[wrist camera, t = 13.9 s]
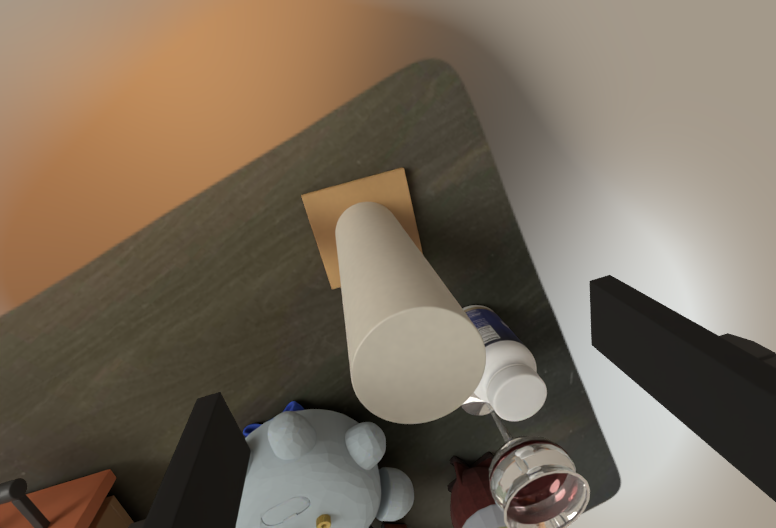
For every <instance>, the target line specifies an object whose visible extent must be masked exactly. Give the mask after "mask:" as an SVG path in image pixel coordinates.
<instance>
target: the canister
mask: <svg viewBox="0 0 776 528" xmlns="http://www.w3.org/2000/svg"><path fill="white" fill-rule="evenodd" d="M335 235H336V245H337V254H338V263H339V272H340V281H341V290H342V300H343V309H344V318H345V327H346V336H347V345H348V354H349V363H350V372H351V381H352V385H353V389H354V391H355V393H356V396H357V397H358V399H359V400H360V402H361V403H362V404H363V405H364V406H365V407H366V408H367V409H368V410H369V411H370V412H371V413H373V414H375V415H376V416H378V417H380V418H382V419H384V420H387V421H391V422H395V423H400V424H418V423H425V422H429V421H433V420H436V419H438V418H441V417H443V416H445V415H447V414H449V413H451V412H452V411H454V410H456V409H457V408H458V407H460V406H461V405H462V404H463V403H464V402H465V401H466V400H468V399H469V397H470V396H471V395H472V394H473V393H474V391H475V390H476V388H477V387H478V385H479V383H480V381H481V379H482V376H483V373H484V369H485V365H486V350H485V345H484V341H483V339H482V336H481V334H480V333H479V331H478V330H477V328H476V327H475V325H474V324H473V322H472V321H471V320H470V318H469V317H468V316H467V314H466V313H465V312H464V310H463V309H462V308H461V306H460V305H459V303H458V302H457V301H456V299H455V298H454V297H453V295H452V294H451V293H450V291H449V290H448V288H447V287H446V286H445V284H444V283H443V282H442V280H441V279H440V278H439V276H438V275H437V273H436V272H435V271H434V269H433V268H432V267H431V265H430V264H429V263H428V261H427V260H426V259H425V257H424V256H423V254H422V253H421V252H420V250H419V249H418V248H417V246H416V245H415V244H414V242H413V241H412V239H411V238H410V237H409V235H408V234H407V233H406V231H405V230H404V229H403V227H402V226H401V224H400V223H399V222H398V220H397V219H396V218H395V216H394V215H393V214H392V212H391V211H390V210H389V209H387V208H386V207H385V206H383V205H381V204H378V203H375V202H361V203H357V204H355V205H353V206H351V207H349V208H348V209H347V210H345V211H344V212H343V214H342V215H341V216H340V218H339V220H338V222H337V225H336V230H335Z"/></svg>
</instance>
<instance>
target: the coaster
mask: <svg viewBox="0 0 776 528" xmlns="http://www.w3.org/2000/svg"><path fill="white" fill-rule="evenodd" d="M301 197H302V200H303V203H304V206H305V209H306V212H307V215H308V218H309V221H310V224H311V227H312V230H313V233H314V236H315V239H316V242H317V245H318V248H319V251H320V254H321V257H322V260H323V264H324V267H325V270H326V273H327V276H328V279H329V282H330V285H331V288H332V289H335V288H339V287H341V281H340V272H339V263H338V254H337V245H336V235H335V230H336V225H337V222H338V220H339V218H340V216H341V215H342V214H343V212H344V211H345V210H347V209H348V208H349V207H351V206H353V205H355V204H357V203H361V202H375V203H378V204H381V205H383V206H385V207H386V208H387V209H389V210H390V211H391V212H392V214H393V215H394V216H395V218H396V219H397V220H398V222H399V223H400V224H401V226H402V227H403V229H404V230H405V231H406V233H407V234H408V235H409V237H410V238H411V239H412V241H413V242H414V244H415V245H416V246H417V248H418V249H419V250H420V252H421V253H422V254H423V252H422V247H421V243H420V238H419V234H418V229H417V225H416V220H415V215H414V211H413V206H412V202H411V197H410V193H409V188H408V184H407V179H406V175H405V170H404V168H403V167H401V168H398V169H394V170H390V171H386V172H383V173H379V174H375V175H372V176H368V177H364V178H361V179H357V180H353V181H350V182H346V183H342V184H339V185H335V186H331V187H328V188H324V189H320V190H317V191H313V192H309V193H305V194H302V196H301Z"/></svg>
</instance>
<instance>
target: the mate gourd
mask: <svg viewBox="0 0 776 528" xmlns="http://www.w3.org/2000/svg"><path fill="white" fill-rule="evenodd" d="M493 458H494V456H493V455H492V454H491V453H490V452H487V453H486V454H484V455H483V456H482V457H481V458H480V459H478V460H477V461H476V462H475V463H474V464H472V465H471V466H469V465H467V464H466V463H464V462H463V461H462V460H460V459H459V458H457V457H456V456H453V457H452V458H451V459H450V463H451V464H452V465H453V466H454V467H455V472H456V477H457V478H456V479H455V480H454V481H452V482H451V483H450V484H449V485H448V491H449V492H451V505H450V511H451V519H452V524H453V526H454V528H507V526H506V524H505V522H504V513H503V512H502V511H501V510H500V509H499V508H498V506H497V505H496V503H495V501H494V499H493V497H492V495H491V491H490V487H489V467H490V465H491V462H492V459H493Z"/></svg>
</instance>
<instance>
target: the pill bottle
mask: <svg viewBox="0 0 776 528" xmlns="http://www.w3.org/2000/svg"><path fill="white" fill-rule="evenodd" d="M462 309H463V310H464V312H465V313H466V314H467V316H468V317H469V318H470V320H471V321H472V322H473V324H474V325H475V327H476V328H477V330H478V331H479V333H480V334H481V336H482V339H483V341H484V345H485V350H486V365H485V369H484V373H483V376H482V379H481V381H480V383H479V385H478V387H477V388H476V390H475V391H474V394H475V395H476V396H477V397H479V398H480V399H481V400H483V401H485V402H487V403H490V405H491V406H492V407H493V409H494V410H495V412H496V413H497V415H498V416H500V417H501V418H502V419H505V420H508V421H520V420H524V419H527V418H529V417H531V416H532V415H534V414H535V413H536V412H537V411H538V410H539V409H540V408H541V407H542V406H543V404H544V402H545V399H546V396H547V389H546V385H545V383H544V382H543V380H542V379H541V378H540V377H539V375H538V374H537V373H536V372H537V367H536V362H535V359H534V357H533V355H532V354H531V352H530V351H529V350H528V349H527V347H526V346H525V345H524V344H523V343H522V342H521V341H520V340H519V338H518V337H517V336H516V335H515V334H514V333H513V332H512V331H511V330H510V328H509V327H508V326H507V325H506V324H505V323H504V322H503V321H502V320H501V318H500V317H499V316H498V315H497V314H496V313H495V312H494V311H492V310H491V309H490V308H488V307H485V306H481V305H471V306H467V307H464V308H462Z"/></svg>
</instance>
